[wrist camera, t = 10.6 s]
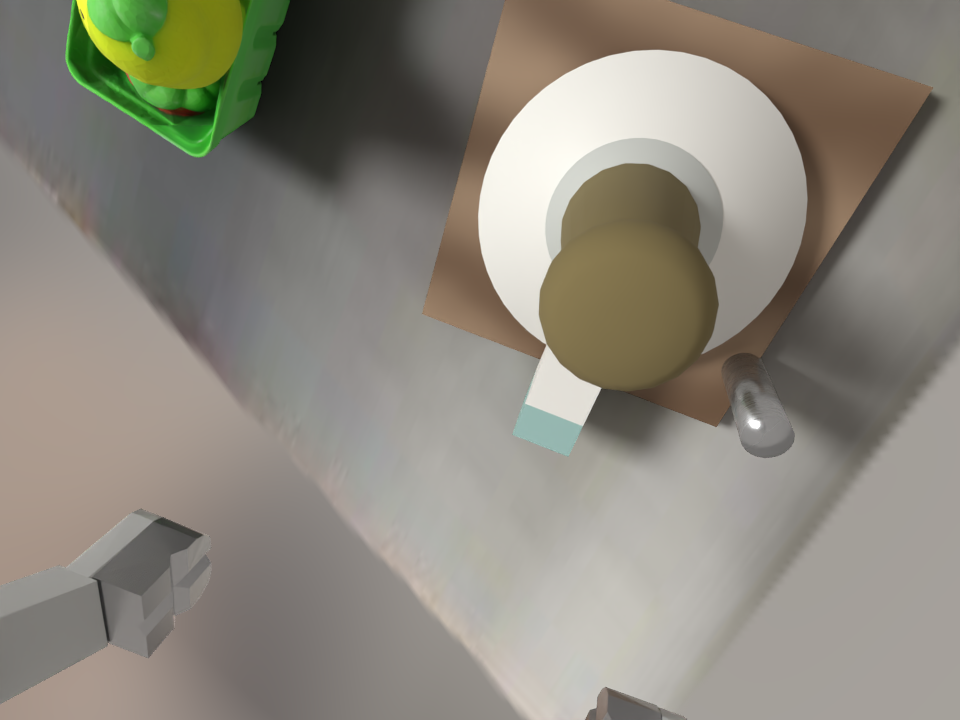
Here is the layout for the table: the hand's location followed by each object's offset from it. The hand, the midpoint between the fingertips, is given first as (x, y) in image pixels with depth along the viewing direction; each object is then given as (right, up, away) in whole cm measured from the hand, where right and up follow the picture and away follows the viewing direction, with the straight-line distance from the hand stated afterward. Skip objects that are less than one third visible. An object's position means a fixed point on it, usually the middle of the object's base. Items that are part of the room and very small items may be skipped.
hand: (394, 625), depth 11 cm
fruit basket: (-10, +22, +17) cm, 29 cm away
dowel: (+15, +5, +18) cm, 24 cm away
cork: (+8, +11, +14) cm, 20 cm away
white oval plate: (+8, +10, +16) cm, 21 cm away
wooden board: (+9, +12, +16) cm, 22 cm away
